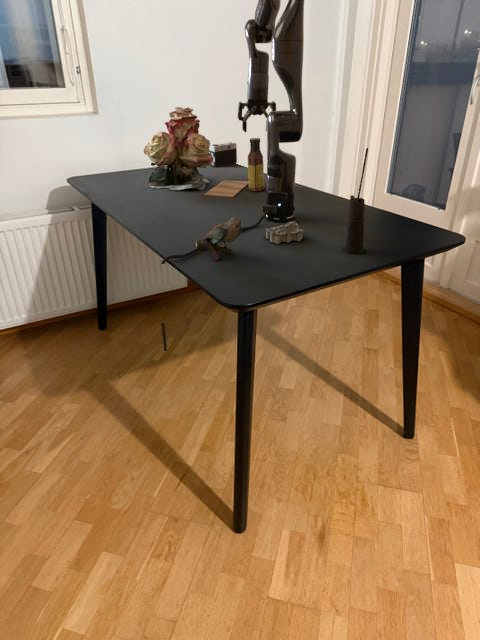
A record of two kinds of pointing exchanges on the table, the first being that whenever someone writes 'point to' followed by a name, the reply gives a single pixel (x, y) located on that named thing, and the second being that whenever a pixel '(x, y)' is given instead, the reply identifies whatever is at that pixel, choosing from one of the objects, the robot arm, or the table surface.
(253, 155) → the sauce bottle
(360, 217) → the butter churn
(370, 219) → the table surface
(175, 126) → the rose bouquet
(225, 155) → the camera
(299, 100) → the robot arm
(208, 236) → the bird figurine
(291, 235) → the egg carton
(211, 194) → the flat copper plate
